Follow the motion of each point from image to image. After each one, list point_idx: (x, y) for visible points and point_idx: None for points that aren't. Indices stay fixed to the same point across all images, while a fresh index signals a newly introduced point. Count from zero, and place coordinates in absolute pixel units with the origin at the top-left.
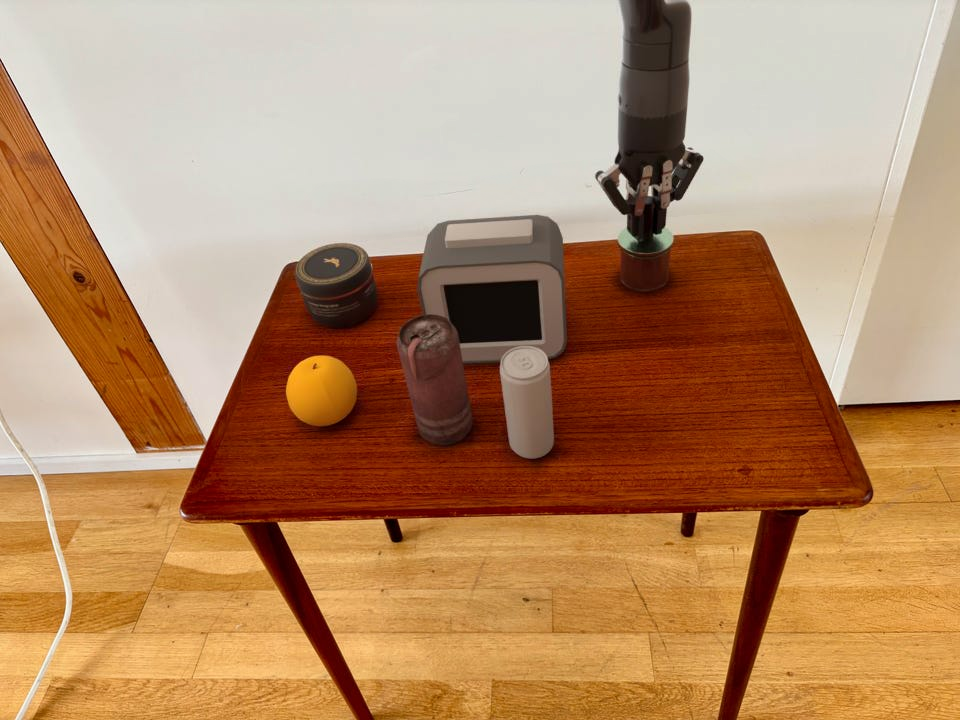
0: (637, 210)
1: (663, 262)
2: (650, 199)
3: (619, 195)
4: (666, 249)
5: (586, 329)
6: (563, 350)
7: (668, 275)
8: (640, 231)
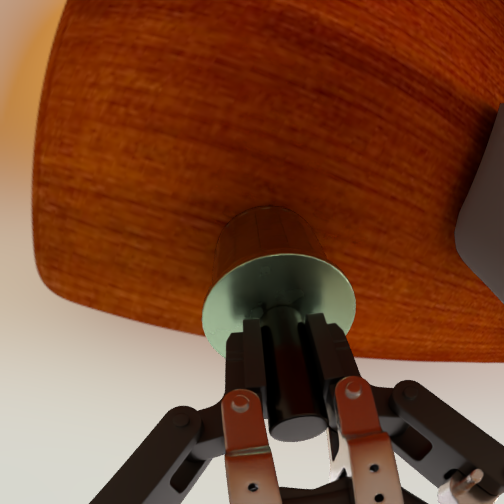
0: (361, 394)
1: (250, 241)
2: (288, 429)
3: (457, 441)
4: (249, 258)
5: (436, 150)
6: (501, 104)
7: (221, 235)
8: (322, 331)
